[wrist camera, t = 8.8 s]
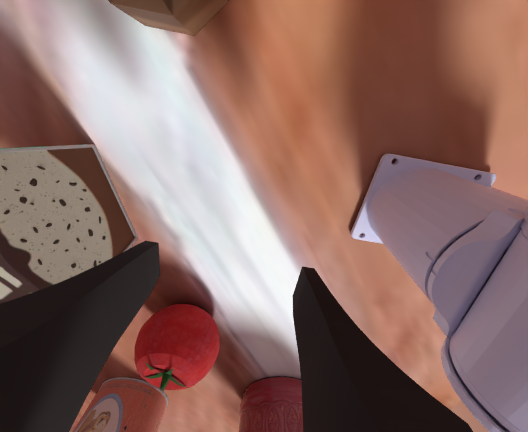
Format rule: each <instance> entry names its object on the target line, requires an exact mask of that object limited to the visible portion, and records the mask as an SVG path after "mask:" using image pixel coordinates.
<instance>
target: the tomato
mask: <svg viewBox="0 0 528 432" xmlns="http://www.w3.org/2000/svg"><path fill="white" fill-rule="evenodd" d="M219 349H220V339H219V331H218V328H217V325H216V323H215V321H214V319H213V318H212V317H211V316H210V314H208V313H207V312H206V311H204V310H203V309H201V308H199V307H197V306H194V305H189V304H175V305H170V306H168V307H166V308H164V309H162V310H160V311H158V312H156V313H155V314H153V315H152V316H151V317H150V318H149V320H148V321H147V322H146V323H145V324H144V325H143V326H142V328H141V330H140V332H139V334H138V337H137V340H136V344H135V364H136V368H137V371H138V373H139V374H140V376H139V377H142V378H143V379H145V380H146V381H147V382H149V383H150V384H152V385H154V386H156V387H158V388H160V390H162V389H163V390H164V389H166V390H180V389H186V388H189V387H192V386H194V385H195V384H196V383H198V382H199V381H200V380H201V379H203V378H204V377H205V375H206V374H207V373H208V372H209V371H210V369H211V368H212V366H213V364H214V362H215V361H216V359H217V356H218V352H219ZM163 390H162V391H163Z"/></svg>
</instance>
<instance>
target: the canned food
mask: <svg viewBox="0 0 528 432" xmlns="http://www.w3.org/2000/svg"><path fill="white" fill-rule="evenodd" d="M167 405H168V398H167V396H166V394H165V393H164V392H163V391H162V390H160V388H158V387H156V386H154V385H152V384H150V383H149V382H146V381H143V380H140V379H136V378H129V377H116V378H111V379H108V380H106V381H105V382H103V383H102V385H101V386H100V389H99V391H98V392H97V394H96V395H95V397H94V399H93V400H92V402H91V403H90V405H89V407H88V408H87V410H86V411H85V413H84V415H83V416H82V418H81V419H80V421H79V423H78V424H77V426H76V427H75V429H74V431H73V432H157V431H158V428H159V425H160V422H161V420H162V417H163V414H164V411H165V409H166V407H167Z"/></svg>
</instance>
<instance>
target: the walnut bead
mask: <svg viewBox="0 0 528 432" xmlns="http://www.w3.org/2000/svg"><path fill="white" fill-rule="evenodd" d="M108 1H109V2H110V3H111V4H113V5H114V6H116V7H117V8H119V9H120V10H122V11H123V12H125V13H127V14H128V15H130V16H131V17H133V18H134V19H136V20H137V21H139V22H140V23H142V24H143V25H145V26H149V27H154V28H159V29H164V30H169V31H173V32H178V33H183V34H188V35H193V36H195V35H196V34H197V33H198V32H199V31H200V30H201V29H202V28H203V27H204V26H205V25H206V24H207V23H208V22H209V21H210V20H211V19H212V18H213V17H214V16H215V15H216V13H217V12H218V11H219V10H220V9H221V8H222V7H223V6H224V5H225V4H226V3H227V2H228V1H229V0H108Z"/></svg>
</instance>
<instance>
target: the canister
mask: <svg viewBox="0 0 528 432" xmlns="http://www.w3.org/2000/svg"><path fill="white" fill-rule="evenodd" d="M240 407H241V409H240V426H239V432H303V409H302V386H301V380H299V379H295V378H289V377H272V378H266V379H262V380H259V381H257V382H255V383H253V384H251V385H250V386H249V387H248V388H247V389H246V390H245V392H244V394H243V399H242V401H241V406H240Z"/></svg>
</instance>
